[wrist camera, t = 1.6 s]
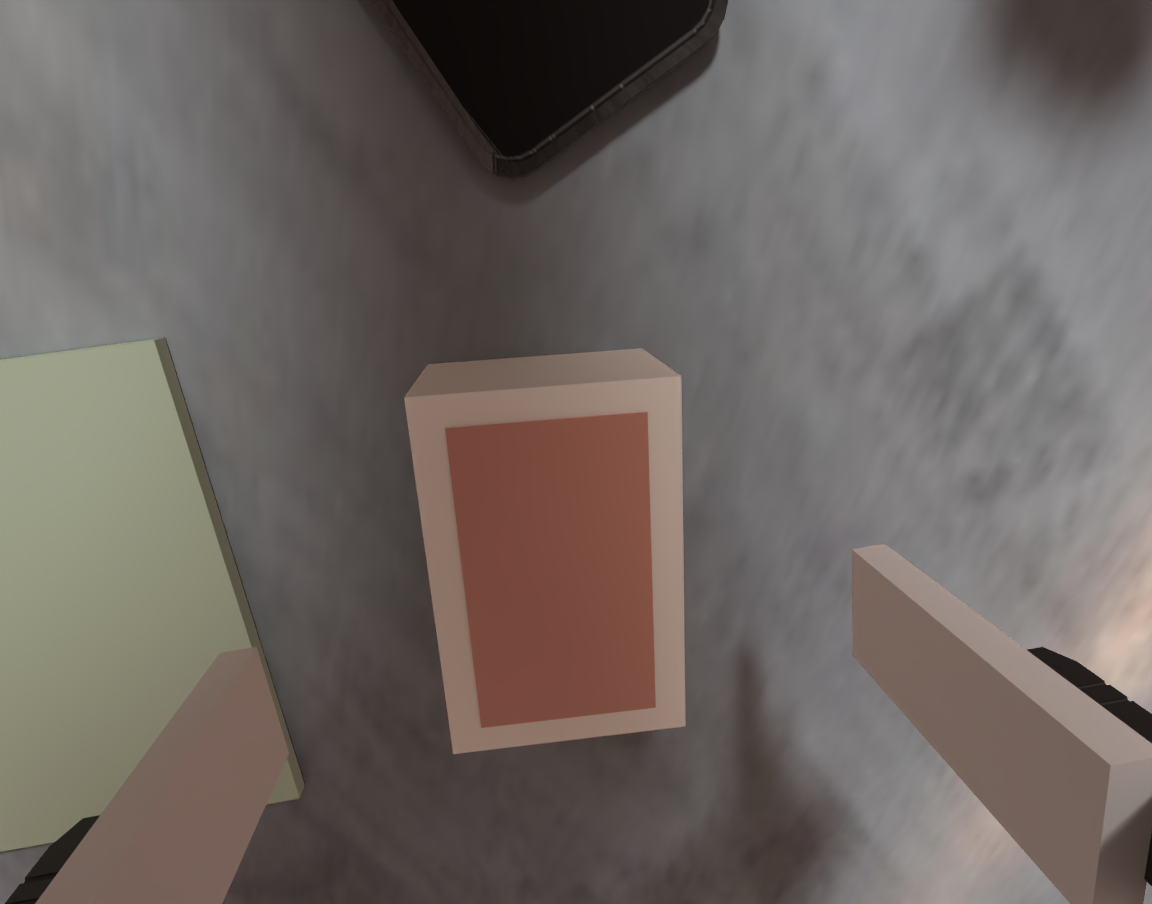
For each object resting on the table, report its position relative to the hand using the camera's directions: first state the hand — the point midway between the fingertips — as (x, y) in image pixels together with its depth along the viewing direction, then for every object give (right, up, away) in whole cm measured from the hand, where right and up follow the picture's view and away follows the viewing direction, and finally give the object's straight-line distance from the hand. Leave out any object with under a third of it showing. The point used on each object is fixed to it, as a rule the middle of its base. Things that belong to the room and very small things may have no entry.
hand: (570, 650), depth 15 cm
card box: (-1, +3, +7) cm, 8 cm away
